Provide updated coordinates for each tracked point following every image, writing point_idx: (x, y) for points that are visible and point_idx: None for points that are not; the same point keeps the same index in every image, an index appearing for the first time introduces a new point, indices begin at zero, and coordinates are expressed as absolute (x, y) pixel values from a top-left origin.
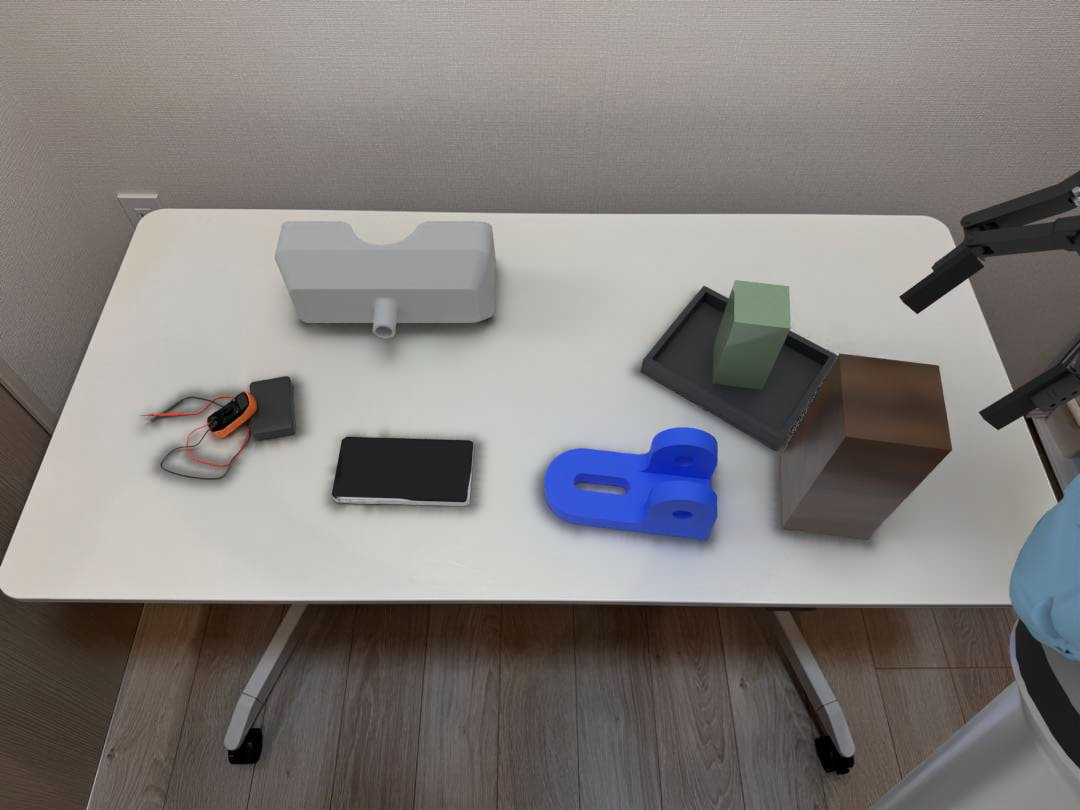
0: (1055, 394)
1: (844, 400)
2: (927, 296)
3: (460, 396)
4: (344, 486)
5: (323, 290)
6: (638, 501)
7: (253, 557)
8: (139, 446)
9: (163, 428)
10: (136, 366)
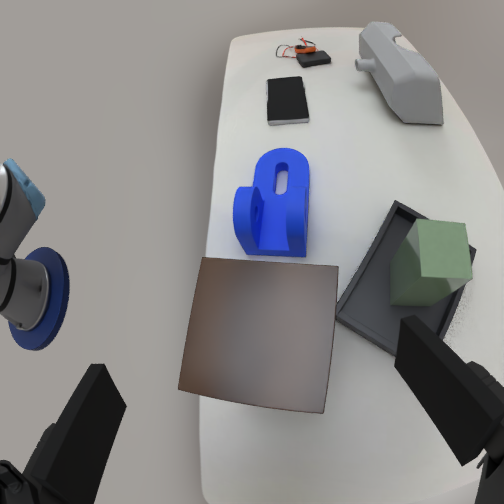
0: (41, 449)
1: (255, 262)
2: (415, 366)
3: (342, 113)
4: (273, 81)
5: (364, 40)
6: (267, 200)
7: (240, 72)
8: (289, 40)
9: (298, 42)
10: (325, 33)
